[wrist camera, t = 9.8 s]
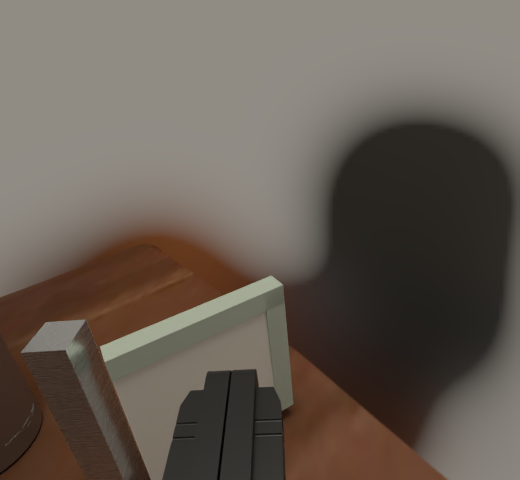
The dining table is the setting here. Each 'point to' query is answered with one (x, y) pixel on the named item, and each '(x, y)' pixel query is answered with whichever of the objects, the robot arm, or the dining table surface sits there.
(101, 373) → the post
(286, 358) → the beige and green panel
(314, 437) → the dining table surface
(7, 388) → the robot arm
